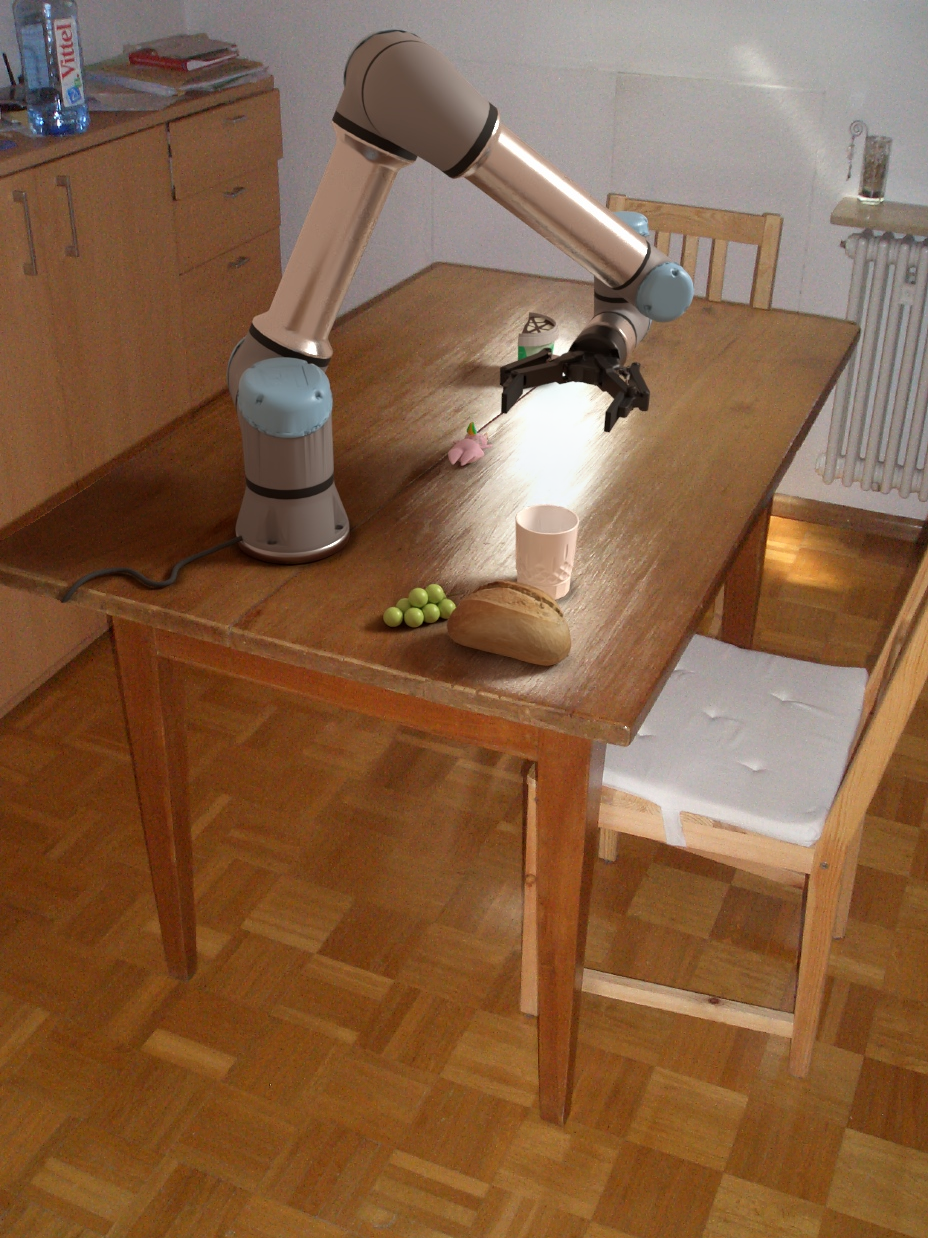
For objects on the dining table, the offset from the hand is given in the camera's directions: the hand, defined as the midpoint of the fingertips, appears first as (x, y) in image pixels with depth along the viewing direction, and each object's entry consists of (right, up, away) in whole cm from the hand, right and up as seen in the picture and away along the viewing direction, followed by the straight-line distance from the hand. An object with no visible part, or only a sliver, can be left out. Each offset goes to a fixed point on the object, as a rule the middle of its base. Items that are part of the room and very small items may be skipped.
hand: (555, 412), depth 159 cm
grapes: (-17, -26, -3) cm, 31 cm away
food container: (+2, +16, +64) cm, 66 cm away
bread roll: (-6, -30, -9) cm, 31 cm away
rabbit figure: (-11, -2, +35) cm, 37 cm away
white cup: (-1, -22, +3) cm, 22 cm away
